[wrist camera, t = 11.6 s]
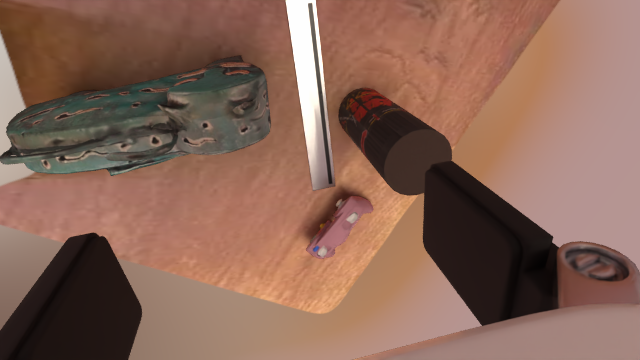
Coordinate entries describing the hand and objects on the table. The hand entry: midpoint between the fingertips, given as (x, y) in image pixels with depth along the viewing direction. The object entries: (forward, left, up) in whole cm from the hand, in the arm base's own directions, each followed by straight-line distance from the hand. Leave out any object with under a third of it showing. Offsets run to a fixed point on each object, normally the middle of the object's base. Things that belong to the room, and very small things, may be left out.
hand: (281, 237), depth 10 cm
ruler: (+5, +6, -30) cm, 31 cm away
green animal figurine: (+1, -9, -31) cm, 32 cm away
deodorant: (+7, +12, -31) cm, 33 cm away
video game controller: (+21, +7, -31) cm, 38 cm away
